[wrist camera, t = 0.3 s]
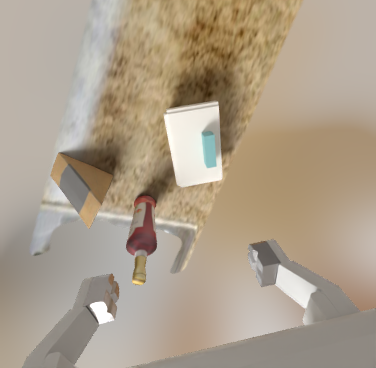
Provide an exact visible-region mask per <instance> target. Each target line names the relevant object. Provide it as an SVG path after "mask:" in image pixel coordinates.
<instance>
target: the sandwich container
mask: <svg viewBox="0 0 376 368" xmlns="http://www.w3.org/2000/svg"><path fill="white" fill-rule="evenodd" d="M50 176H51V177H52V179H53V180H54V181H55V182H56V184H57V185H58V186H59V188H60V189H61V190H62V192H63V193H64V194H65V196H66V197H67V199H68V200H69V201H70V203H71V204H72V205H73V207H74V208H75V210H76V211H77V212H78V214H79V215H80V217H81V218H82V220H83V221H84V222H85V224H86V225H87V227H88V228H90V227H91V225H92V223H93V221H94V219H95V217H96V215H97V213H98V211H99V209H100V207H101V205H102V203H103V201H104V198H105V196H106V193H107V191H108V188H109V186H110V184H111V181H112V179H113V175H111V174H109V173H106V172H104V171H102V170H100V169H98V168H96V167H93V166H91V165H88V164H86V163H84V162H81V161H79V160H76V159H74V158H71V157H69V156H66V155H64V154H62V153H58V155H57V157H56V160H55V162H54V165H53V168H52V172H51V175H50Z"/></svg>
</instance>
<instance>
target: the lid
mask: <svg viewBox="0 0 376 368" xmlns="http://www.w3.org/2000/svg"><path fill="white" fill-rule="evenodd" d="M166 111H167V112H166V113H163V114H164V119H165V124H166V129H167V135H168V140H169V145H170V150H171V156H172V161H173V166H174V171H175V177H176V182H177V186H178V185H180V187H186V186H192V185H197V184H202V183H207V182H212V181H218V180H222V161H221V140H220V120H219V106H218V102H217V101H210V102H204V103H198V104H192V105H186V106H180V107H174V108H168V109H166Z"/></svg>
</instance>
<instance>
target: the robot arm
mask: <svg viewBox="0 0 376 368" xmlns="http://www.w3.org/2000/svg"><path fill="white" fill-rule="evenodd" d="M248 249H249V251H250V252H249V253H248V259H249V263H250V265H251V268H252V270H254V271H255V272H256V278H257V280H258V282H259V284H260V286H261V287H264V286H268V285H274V284H276V286H277V287H279V288H280V289H281V290H282V291H283V292H285V293H286V294H287V295H289V296H290V297H291V298H292V299H293V300H295V301H296V302H297V303H298V304H300V305H301V306H302V307H303V308H305V309H306V311H305V314H304V317H303V320H302V321H303V322H304V324H305V325H303V326H299V327H295V328H291V329H287V330H282V331H278V332H274V333H270V334H266V335H262V336H257V337H253V338H249V339H245V340H241V341H237V342H233V343H228V344H224V345H220V346H216V347H212V348H207V349H203V350H199V351H195V352H191V353H187V354H182V355H178V356H174V357H170V358H166V359H162V360H158V361H154V362H149V363H145V364H141V365H137V366H132V367H128V368H376V308H374V309H370V310H366V311H360V310H359V309H358V308H357V307H356V306H355V305H354V303H353V302H352V301H351V300H350V299H349V298H348V296H346V294H345V293H344V292H343V291H342V289H341V288H340V287H339V286H337V285H336V284H334V283H332V282H330V281H328V280H327V279H325V278H323V277H321V276H319V275H318V274H316V273H314V272H312V271H311V270H309V269H307V268H305V267H303V266H302V265H300V264H298V263H296V262H294V261H290V260H289V258H288V257H287V256H286V254H285V253H284V252H283V250H282V249H281V247H280V246H279V245H278V243H277V242H276V241H275V240H274V239H271V240H267V241H261V242H257V243H253V244H249V246H248ZM118 299H119V286H118V283H117V282H116V281H114V276H113V274H107V275H102V276H97V277H91V278H86V279H84V280H83V282H82V284H81V287H80V289H79V292H78V295H77V298H76V301H75V303H74V306H73V309H70V310H69V311H68V312H67V313H66V314H65V315H64V317H63V318H62V319H61V320H60V321H59V322H58V323H57V324H56V326H55V327H54V328H53V329H52V330H51V331H50V332H49V333H48V334H47V336H46V337H45V338H44V339H43V340H42V341H41V342H40V344H39V345H38V346H37V347H36V348H35V349H34V350H33V351H32V352H31V354H30V355H29V356H28V357H27V358H26V360H25V362H24V365H23V367H22V368H77V367H76V366H75V363H76V361H77V360H78V358H79V357H80V355H81V354H82V352H83V350H84V349H85V347H86V346H87V344H88V342H89V341H90V339H91V337H92V336H93V334H94V333H95V331H96V330H97V328H98V326H99V324H101V323H105V322H109V321H113V320H115V316H116V311H117V306H116V304H115V303H116V302H117V300H118Z"/></svg>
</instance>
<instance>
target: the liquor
mask: <svg viewBox="0 0 376 368" xmlns="http://www.w3.org/2000/svg"><path fill="white" fill-rule="evenodd" d="M134 207H135V210H134V215H133V219H132V223H131V227H130V231H129V235H128V240H127V244H126V248H127V251H128V252H129V253H130V254H132V255H134V256H135V269H134V272H133V278H132V282H133V284H135V285H141V284H144V283H145V280H146V271H145V264H146V258H147V256H148V255H150V254H152V253H153V252H154V251H155V250H156V248H157V240H156V225H155V207H156V202H155V200H154V199H153V198H152V197H150V196H140V197H138V198H137V199H136V200H135V202H134Z"/></svg>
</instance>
